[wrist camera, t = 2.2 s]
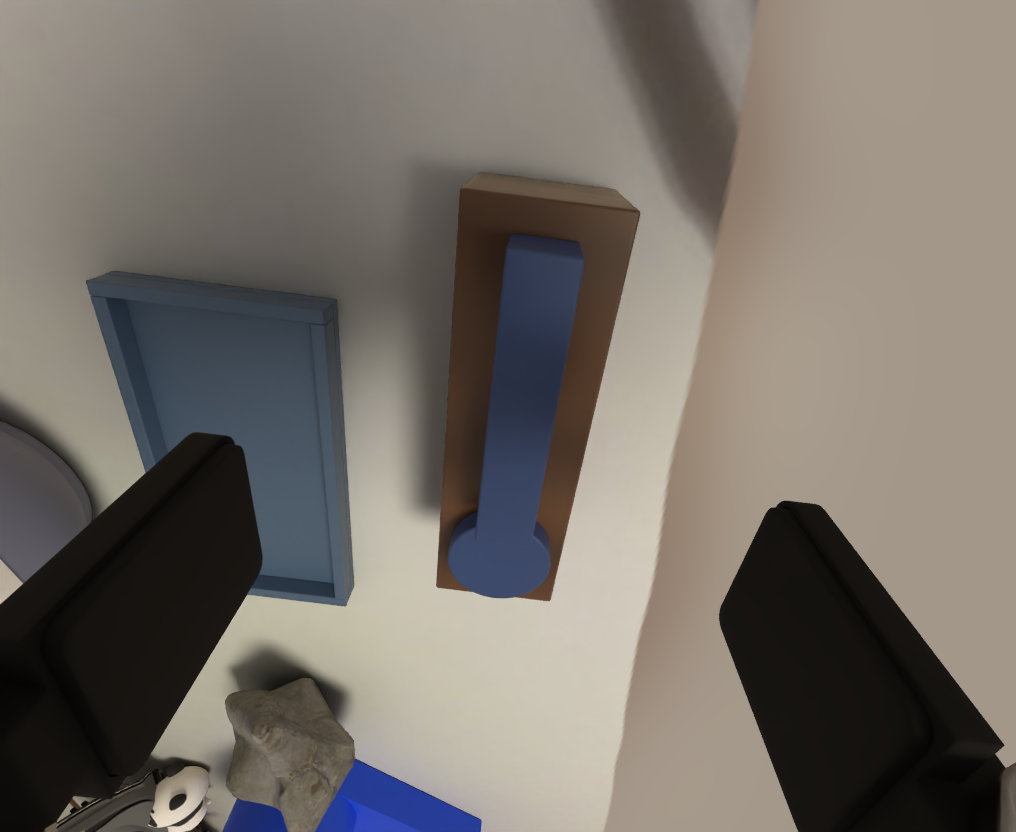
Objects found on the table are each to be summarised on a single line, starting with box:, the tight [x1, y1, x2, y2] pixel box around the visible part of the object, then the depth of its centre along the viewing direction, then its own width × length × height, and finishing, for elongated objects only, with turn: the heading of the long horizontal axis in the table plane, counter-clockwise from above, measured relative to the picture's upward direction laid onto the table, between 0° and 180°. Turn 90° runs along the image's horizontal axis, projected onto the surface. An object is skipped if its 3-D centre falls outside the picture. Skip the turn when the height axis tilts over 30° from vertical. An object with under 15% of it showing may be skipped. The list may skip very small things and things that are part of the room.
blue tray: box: [86, 271, 354, 606], centre depth 24 cm, size 17×9×2 cm, turn 174°
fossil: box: [225, 678, 355, 832], centre depth 32 cm, size 11×9×8 cm
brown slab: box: [436, 172, 640, 601], centre depth 20 cm, size 16×5×5 cm, turn 174°
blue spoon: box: [448, 234, 585, 598], centre depth 17 cm, size 14×4×2 cm, turn 174°
